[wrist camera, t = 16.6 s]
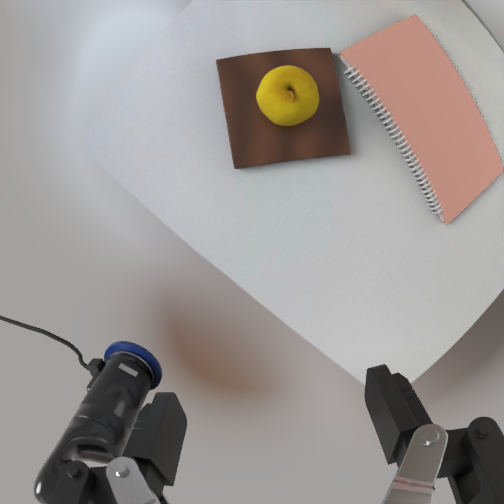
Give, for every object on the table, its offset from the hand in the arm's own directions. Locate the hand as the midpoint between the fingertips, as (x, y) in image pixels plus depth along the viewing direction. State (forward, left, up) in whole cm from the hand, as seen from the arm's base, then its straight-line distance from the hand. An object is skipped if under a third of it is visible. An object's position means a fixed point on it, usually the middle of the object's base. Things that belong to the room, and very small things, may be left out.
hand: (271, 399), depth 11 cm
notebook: (+26, +13, -28) cm, 40 cm away
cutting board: (+5, +15, -27) cm, 32 cm away
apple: (+5, +15, -26) cm, 31 cm away
